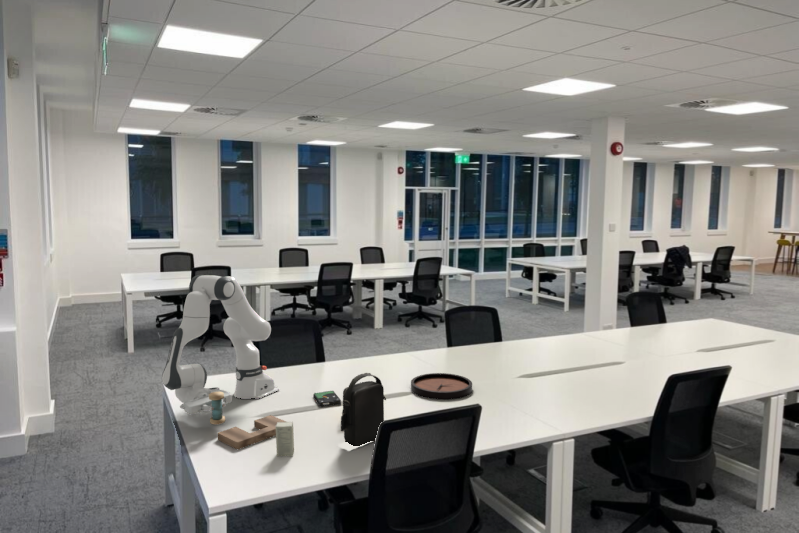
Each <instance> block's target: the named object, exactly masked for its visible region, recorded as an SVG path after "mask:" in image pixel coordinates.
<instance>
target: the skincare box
mask: <svg viewBox="0 0 799 533" xmlns="http://www.w3.org/2000/svg"><path fill="white" fill-rule="evenodd" d="M294 436H295V434H294V422H293V421H286V422H277V424H276V436H275V439H276V440H275V441H276V442H275V444H276V446H275V447H276V457H277V456H283V457H293V456H294V454H295V441H294V440H295V439H294V438H295V437H294Z"/></svg>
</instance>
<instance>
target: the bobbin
mask: <svg viewBox="0 0 799 533" xmlns="http://www.w3.org/2000/svg"><path fill="white" fill-rule="evenodd" d="M223 398H224V393H223V392H212V393H210V394H209V399H210V400H212V406H213V407H214V410H213V411H211V415H212V416H211V417H210V418H209V423H210V424H211V425H221V424H224V423H225V422H226V416H225V415H223V407H222V399H223Z"/></svg>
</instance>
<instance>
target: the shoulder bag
mask: <svg viewBox="0 0 799 533" xmlns="http://www.w3.org/2000/svg"><path fill="white" fill-rule="evenodd" d="M366 377H373V378H374V379H375V381H372V380H371V381H370V380H368V381H362V382H359V381H360V380H361V379H363V378H366ZM358 382H359V383H358ZM384 390H385V388H384V385H383V384H382V381H381V379H380V378H379V377H378V376H376V375H373V374H372V373H371V372H364V373H361V374H357V376H354V377H353V378H352V380H351V381H350V383H349V385H348V387H347V386H346V387H345V388H344V389H343V390H342V391H343V392H342V412H341V416H340V431H341V432H343V439H344V441H345V442H348V443H349V444H351V445H353V446H360V445H362V444H365V443H367V442H370V441H374V442H372V443H373V444H374V443H375V442H376V441H375V438H376V435H377V431H378V427H379V425H380V423H381V422H383V421H384V422H385V406H384V405H385V404H384V401H387V397H386V396H385V395H384V394H385V393H384V392H385V391H384ZM372 443H371V444H372Z"/></svg>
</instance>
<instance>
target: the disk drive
mask: <svg viewBox="0 0 799 533" xmlns="http://www.w3.org/2000/svg"><path fill="white" fill-rule="evenodd" d="M312 396H313V398H315V399H314V400H315V402H316V401H317V402H316V403H317V405H318V404H319V405H318V406H319V408H323V407H331V406H339V405H341V404H342V401H341V398H340V397H339V396H338V395H337V393H336V392H335V391H334V390H328V391H327V390H326V391H321V392H314V393H313V394H312Z"/></svg>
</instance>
